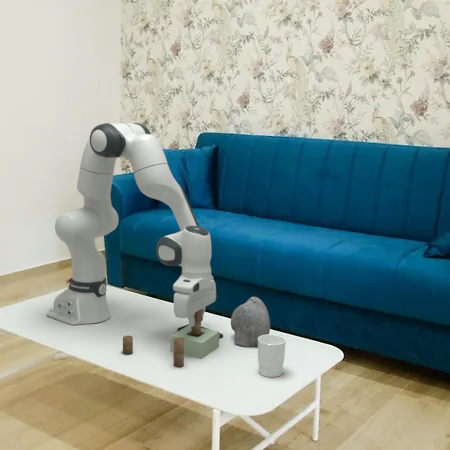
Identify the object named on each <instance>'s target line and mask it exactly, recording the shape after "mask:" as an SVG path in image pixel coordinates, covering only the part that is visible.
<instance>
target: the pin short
mask: <svg viewBox="0 0 450 450" xmlns="http://www.w3.org/2000/svg"><path fill="white" fill-rule="evenodd" d="M133 337H134V336H133V335H124V336H122V354H123V355H125V356H130V355H132V354H133V353H134V346H133V345H134V340H133Z"/></svg>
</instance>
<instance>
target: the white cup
mask: <svg viewBox="0 0 450 450" xmlns="http://www.w3.org/2000/svg"><path fill="white" fill-rule="evenodd" d="M286 342H287V339H286V338H285V337H284V336H282V335H278V334H270V333H269V334H267V335H262V336H260V337H258V345H257V360H258V361H257V362H258V374H260V375H261V376H263V377H266V378H278V377H279V376H282V374H283V368H284V362H285V353H286V344H287V343H286Z"/></svg>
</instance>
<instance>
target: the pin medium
mask: <svg viewBox="0 0 450 450" xmlns="http://www.w3.org/2000/svg"><path fill="white" fill-rule="evenodd" d="M184 366H185V355H184V339H183V338H181V337H177V338H174V352H173V367H174V368H182V367H184Z"/></svg>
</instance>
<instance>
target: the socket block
mask: <svg viewBox="0 0 450 450" xmlns="http://www.w3.org/2000/svg"><path fill="white" fill-rule="evenodd" d="M187 325H188V324H187ZM206 328H207V327H205V328H201V336H199V337H194V336H191V326H189V325H188V326H186V327H185V328H183V329H181V330H180V331H177V332H175V333H173V334H171V335H170V352H172V353H174V338H177V337H181V338H183V339H184V356H187V357H188V356H189V357H194V358H197V359H204V358H205V357H206V356H207V355H209V354H210V353H212V352H214V351H215V350H216V349H218V348H219V347H220V339H219V333H220V331H219V330H215V329H209V328H208V329H206Z"/></svg>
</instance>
